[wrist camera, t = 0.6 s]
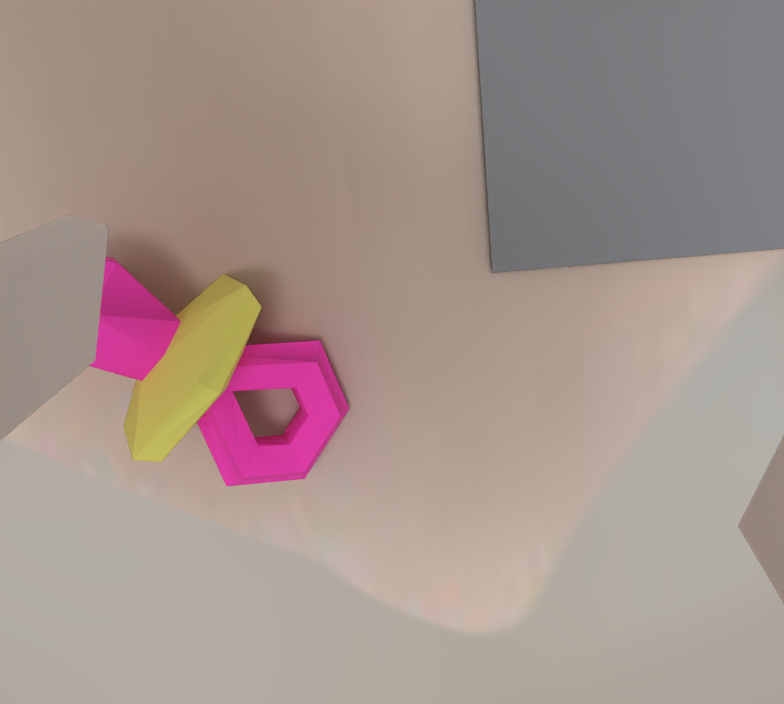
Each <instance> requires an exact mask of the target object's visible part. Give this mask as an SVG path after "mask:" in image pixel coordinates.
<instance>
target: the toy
mask: <svg viewBox="0 0 784 704" xmlns="http://www.w3.org/2000/svg"><path fill="white" fill-rule="evenodd" d="M260 310H261V305H260V304H259V302H258V301H257V300H256V298H255V297H254V295H253V294H252V293H251V291H250V290H249V288H248V287H247V286H246V285H245V284H243V283H241V282H239V281H237V280H235V279H233V278H231V277H229V276H227V275H225V274H223V275H221V276H220V277H219V278H218V279H217V280H216V281H215V282H213V283H212V284H211V285H210V286H209V287H208V288H207V289H205V290H204V291H203V292H202V293H201V294H200V295H199V296H198V297H196V298H195V299H194V300H193V301H192V302H191V303H190V304H188V305H187V306H186V307H185V308H184V309H183V310H182V311H180V312H179V313H178V314H177V315H176V316H175V315H174V314H173V313H172V312H171V311H170V310H169V309H168V308H167V307H166V306H164V305H163V304H162V303H161V302H160V301H159V300H158V299H157V298H156V297H155V296H154V295H153V294H151V293H150V292H149V291H148V290H147V289H146V288H145V287H144V286H143V285H142V284H141V283H140V282H139V281H137V280H136V279H135V278H134V277H133V276H132V275H131V274H130V273H129V272H128V271H127V270H126V269H124V268H123V267H122V266H121V265H120V264H119V263H118V262H117V261H116V260H115V259H114V258H110V257H106V259H105V269H104V279H103V288H102V298H101V308H100V318H99V328H98V338H97V348H96V358H95V361H94V362H93V363H92V364H90V365H89V366H91V367H95V368H99V369H102V370H106V371H109V372H113V373H116V374H120V375H123V376H127V377H130V378H134V379H137V380H136V383H135V387H134V391H133V394H132V398H131V402H130V405H129V409H128V412H127V416H126V420H125V423H124V430H125V433H126V437H127V441H128V445H129V448H130V452H131V456H132V460H139V461H155V462H162V461H163V459H164V458H165V457H166V456H167V455H168V454H169V453H170V452H171V450H172V449H173V448H174V447H175V446H176V445H177V444H178V443H179V442H180V440H181V439H182V438H183V437H184V436H185V435H186V434H187V433H188V431H189V430H190V429H191V428H192V427H193V426H194V425H195V424H196V423H198V425H199V427H200V429H201V431H202V434H203V436H204V438H205V440H206V442H207V445H208V447H209V449H210V451H211V453H212V455H213V458H214V460H215V462H216V464H217V466H218V469H219V471H220V473H221V475H222V477H223V480H224V482H225V484H226V486H233V485H244V484H254V483H265V482H276V481H286V480H297V479H305V477H306V476H307V474H308V473H309V471H310V470H311V468H312V466H313V465H314V463H315V462H316V460H317V459H318V457H319V455H320V454H321V452H322V451H323V449H324V448H325V446H326V444H327V443H328V441H329V440H330V438H331V437H332V435H333V433H334V432H335V430H336V429H337V427H338V425H339V424H340V422H341V421H342V419H343V418H344V416H345V414H346V413H347V411H348V410H349V407H348V404H347V402H346V400H345V398H344V395H343V393H342V391H341V388H340V386H339V384H338V381H337V379H336V377H335V374H334V372H333V370H332V367H331V365H330V363H329V360H328V358H327V356H326V354H325V351H324V349H323V347H322V344H321V342H320V341H305V342H289V343H273V344H257V345H246V343H247V341H248V339H249V336H250V334H251V331H252V329H253V327H254V324H255V322H256V319H257V317H258V315H259V312H260ZM281 388H291V389H292V391H293V393H294V395H295V397H296V400H297V402H298V404H299V406H300V408H299V410H298V411H297V413H296V414H295V416H294V417H293V419H292V421H291V422H290V424H289V425H288V427H287V428H286V430H285V431H284V433H283V435H277V436H263V437H254V436H253V434H252V432H251V430H250V427H249V425H248V423H247V421H246V419H245V417H244V415H243V413H242V411H241V408H240V406H239V404H238V402H237V400H236V398H235V396H234V394H233V392H232V391H245V390H263V389H281Z"/></svg>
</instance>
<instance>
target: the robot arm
mask: <svg viewBox="0 0 784 704" xmlns="http://www.w3.org/2000/svg"><path fill="white" fill-rule="evenodd" d="M108 229H109V226H108V225H104V224H100V223H96V222H92V221H88V220H85V219H81V218H77V217H73V216H69V215H67V216H65V217H62V218H60V219H58V220H55V221H53V222H50V223H48V224H45V225H43V226H41V227H38V228H36V229H33V230H31V231H28V232H26V233H24V234H21V235H19V236H16V237H14V238H11V239H9V240H7V241H4V242H2V243H0V440H2V439H3V438H4V437H5V436H6V435H8V434H9V433H10V432H11V431H12V430H13V429H15V428H16V427H17V426H18V425H19V424H21V423H22V422H23V421H24V420H25V419H27V418H28V417H29V416H30V415H31V414H32V413H34V412H35V411H36V410H37V409H38V408H40V407H41V406H42V405H43V404H44V403H45V402H47V401H48V400H49V399H50V398H51V397H53V396H54V395H55V394H56V393H57V392H58V391H60V390H61V389H62V388H63V387H64V386H66V385H67V384H68V383H69V382H70V381H72V380H73V379H74V378H75V377H76V376H77V375H79V374H80V373H81V372H82V371H83V370H85V369H86V368H87V367H88V366H89V365H90V364H92V363H93V362H94V361H95V358H96V348H97V338H98V328H99V318H100V308H101V298H102V288H103V279H104V269H105V259H106V249H107V239H108ZM738 527H739V529H740V530H741V532H742V534H743V535H744V537H745V539H746V541H747V542H748V544H749V546H750V547H751V549H752V551H753V552H754V554H755V556H756V557H757V559H758V561H759V562H760V564H761V566H762V567H763V569H764V570H765V573H766V574H767V576H768V578H769V579H770V581H771V583H772V584H773V586H774V588H775V589H776V591H777V593H778V594H779V596H780V598H781V599H782V601H783V603H784V436H783V438H782V440H781V442H780V444H779V446H778V448H777V450H776V452H775V454H774V456H773V458H772V460H771V462H770V464H769V466H768V468H767V470H766V472H765V474H764V476H763V477H762V480H761V481H760V483H759V485H758V488H757V489H756V491H755V493H754V495H753V498H752V499H751V501H750V503H749V505H748V507H747V509H746V511H745V513H744V515H743V517H742V519H741V521H740V523H739V525H738Z"/></svg>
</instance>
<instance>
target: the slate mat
mask: <svg viewBox="0 0 784 704" xmlns="http://www.w3.org/2000/svg"><path fill="white" fill-rule="evenodd" d="M475 12H476V28H477V44H478V60H479V75H480V91H481V107H482V122H483V138H484V154H485V170H486V185H487V201H488V217H489V232H490V248H491V264H492V273H494V272H506V271H518V270H530V269H542V268H554V267H566V266H578V265H590V264H602V263H615V262H627V261H639V260H651V259H663V258H675V257H687V256H699V255H711V254H723V253H735V252H747V251H759V250H771V249H783V248H784V0H475Z"/></svg>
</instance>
